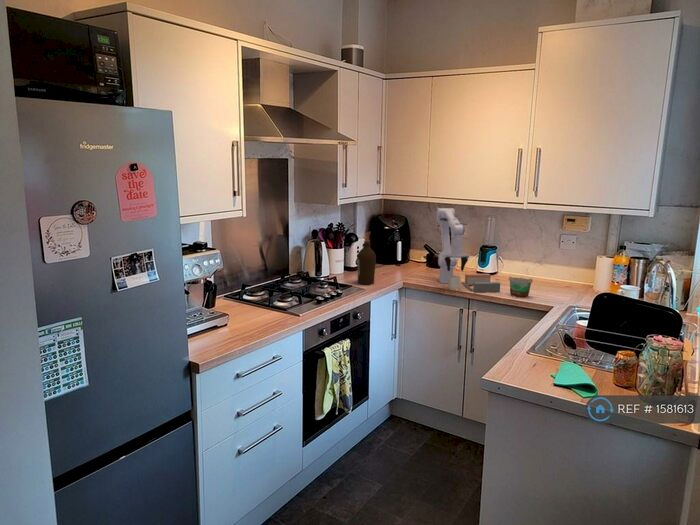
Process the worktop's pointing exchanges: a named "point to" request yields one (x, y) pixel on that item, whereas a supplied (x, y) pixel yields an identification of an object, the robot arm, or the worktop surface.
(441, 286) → the worktop surface
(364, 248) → the olive oil
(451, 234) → the robot arm
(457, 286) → the steel block
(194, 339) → the worktop surface
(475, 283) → the vise
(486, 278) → the clamp jaw
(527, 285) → the food container
